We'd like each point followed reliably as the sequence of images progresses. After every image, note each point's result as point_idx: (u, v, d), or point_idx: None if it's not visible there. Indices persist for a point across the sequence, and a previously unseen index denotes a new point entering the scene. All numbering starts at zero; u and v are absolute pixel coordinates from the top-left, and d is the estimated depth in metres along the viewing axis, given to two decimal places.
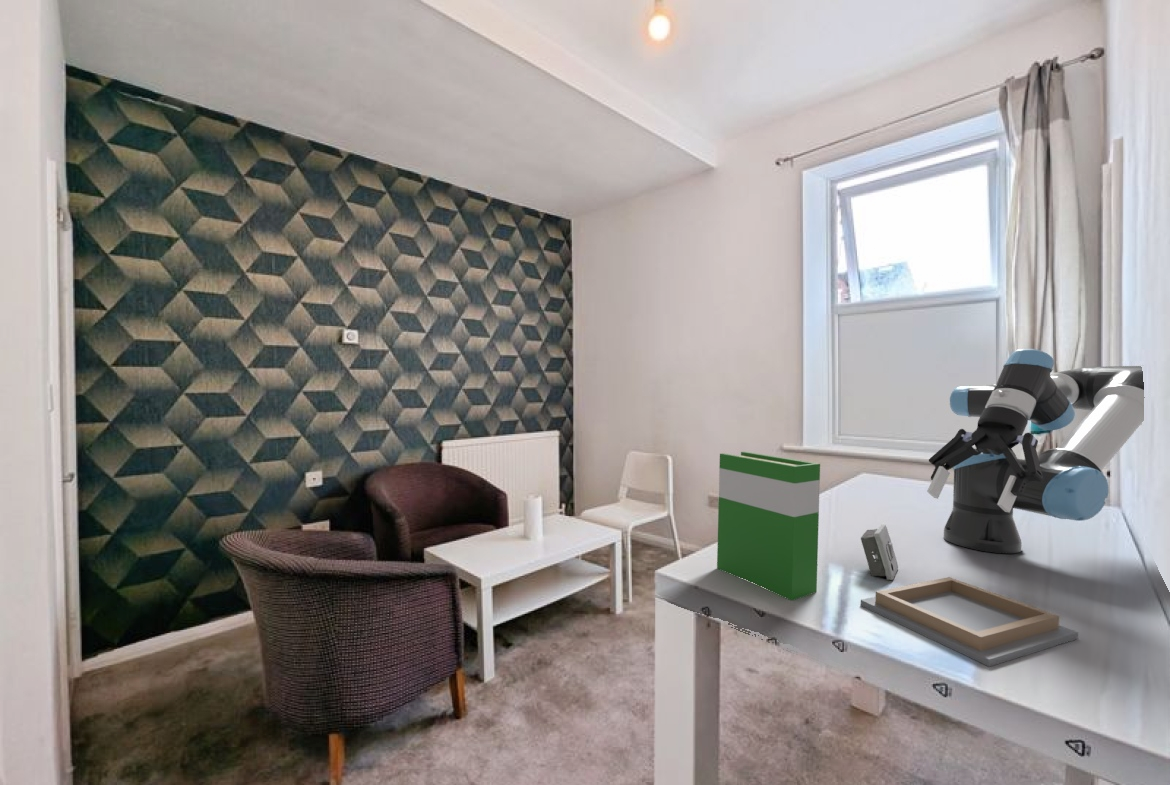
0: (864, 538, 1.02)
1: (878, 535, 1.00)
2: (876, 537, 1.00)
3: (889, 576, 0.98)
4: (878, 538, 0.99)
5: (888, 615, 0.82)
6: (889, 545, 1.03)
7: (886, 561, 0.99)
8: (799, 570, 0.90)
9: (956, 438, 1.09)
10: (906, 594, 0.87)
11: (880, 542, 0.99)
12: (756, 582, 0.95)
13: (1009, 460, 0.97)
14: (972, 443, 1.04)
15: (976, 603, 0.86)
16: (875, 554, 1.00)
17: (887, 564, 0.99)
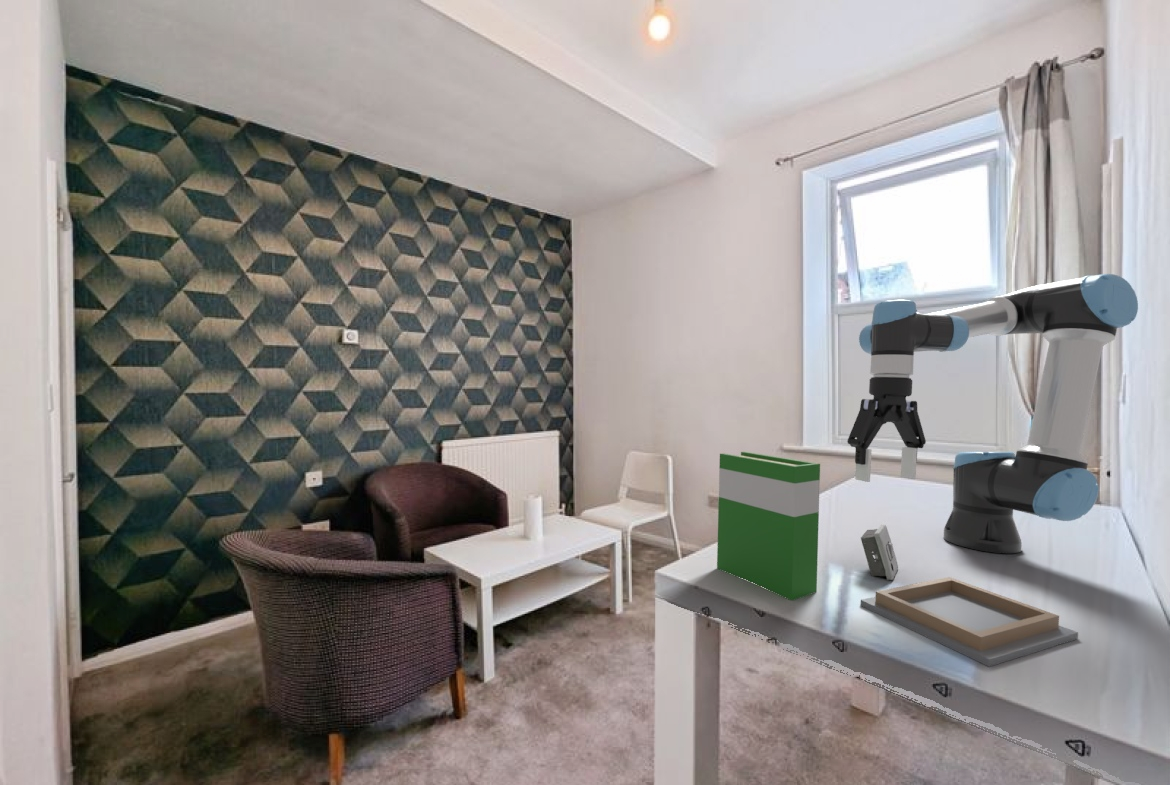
0: (864, 538, 1.02)
1: (878, 535, 1.00)
2: (876, 537, 1.00)
3: (889, 576, 0.98)
4: (878, 538, 0.99)
5: (888, 615, 0.82)
6: (889, 545, 1.03)
7: (886, 561, 0.99)
8: (799, 570, 0.90)
9: None
10: (906, 594, 0.87)
11: (880, 542, 0.99)
12: (756, 582, 0.95)
13: None
14: None
15: (976, 603, 0.86)
16: (875, 554, 1.00)
17: (887, 564, 0.99)
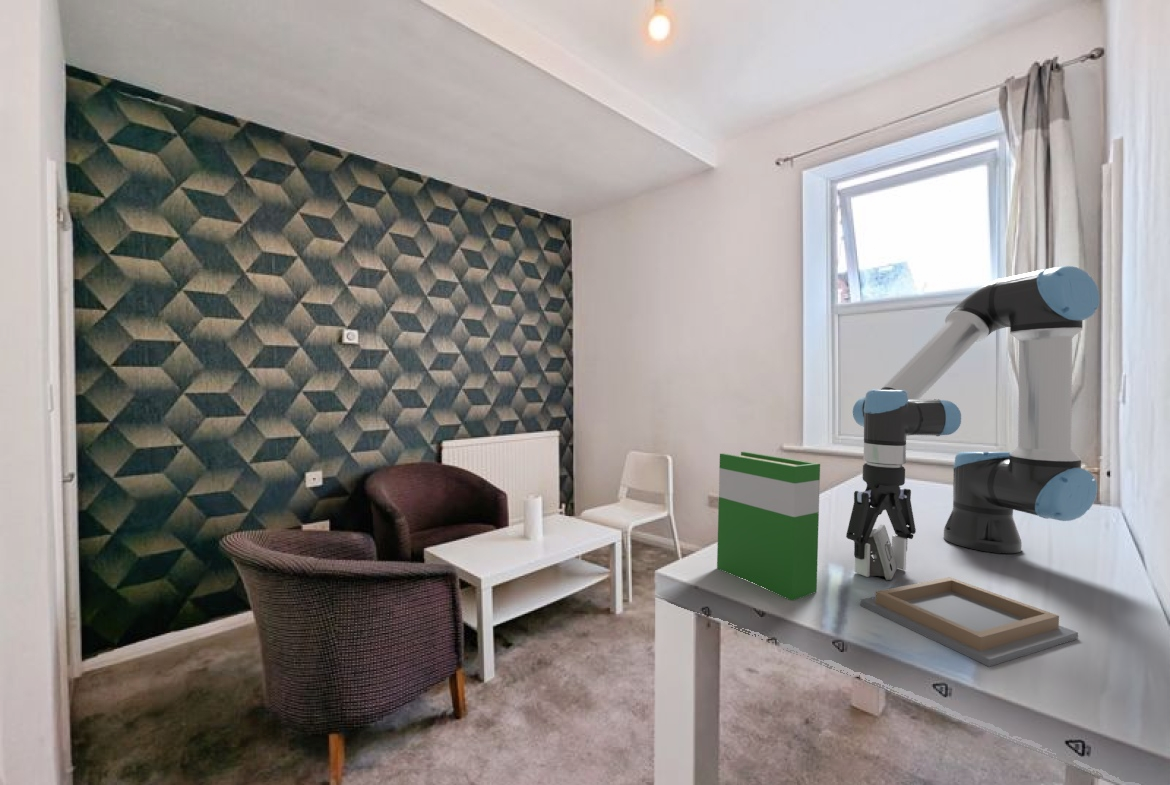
0: None
1: (877, 535, 0.99)
2: (875, 537, 1.00)
3: (888, 576, 0.98)
4: (877, 538, 0.99)
5: (888, 615, 0.82)
6: (888, 545, 1.02)
7: (885, 561, 0.99)
8: (799, 570, 0.90)
9: None
10: (906, 594, 0.87)
11: (879, 542, 0.99)
12: (756, 582, 0.95)
13: None
14: None
15: (976, 603, 0.86)
16: (874, 554, 1.00)
17: (886, 564, 0.98)
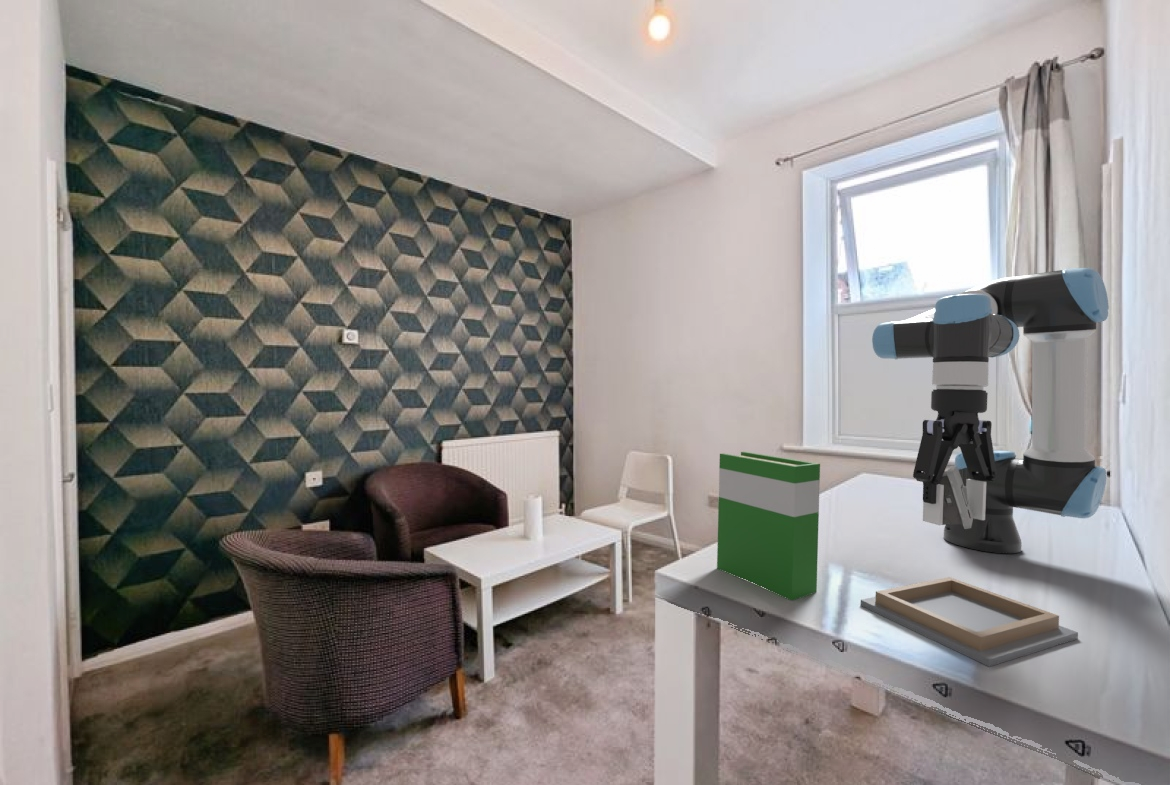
0: None
1: (952, 473, 0.80)
2: (949, 476, 0.80)
3: (967, 523, 0.79)
4: (952, 477, 0.80)
5: (888, 615, 0.82)
6: (964, 488, 0.83)
7: (963, 505, 0.79)
8: (799, 570, 0.90)
9: None
10: (906, 594, 0.87)
11: (955, 482, 0.80)
12: (756, 582, 0.95)
13: None
14: None
15: (976, 603, 0.86)
16: (947, 497, 0.81)
17: (964, 509, 0.79)
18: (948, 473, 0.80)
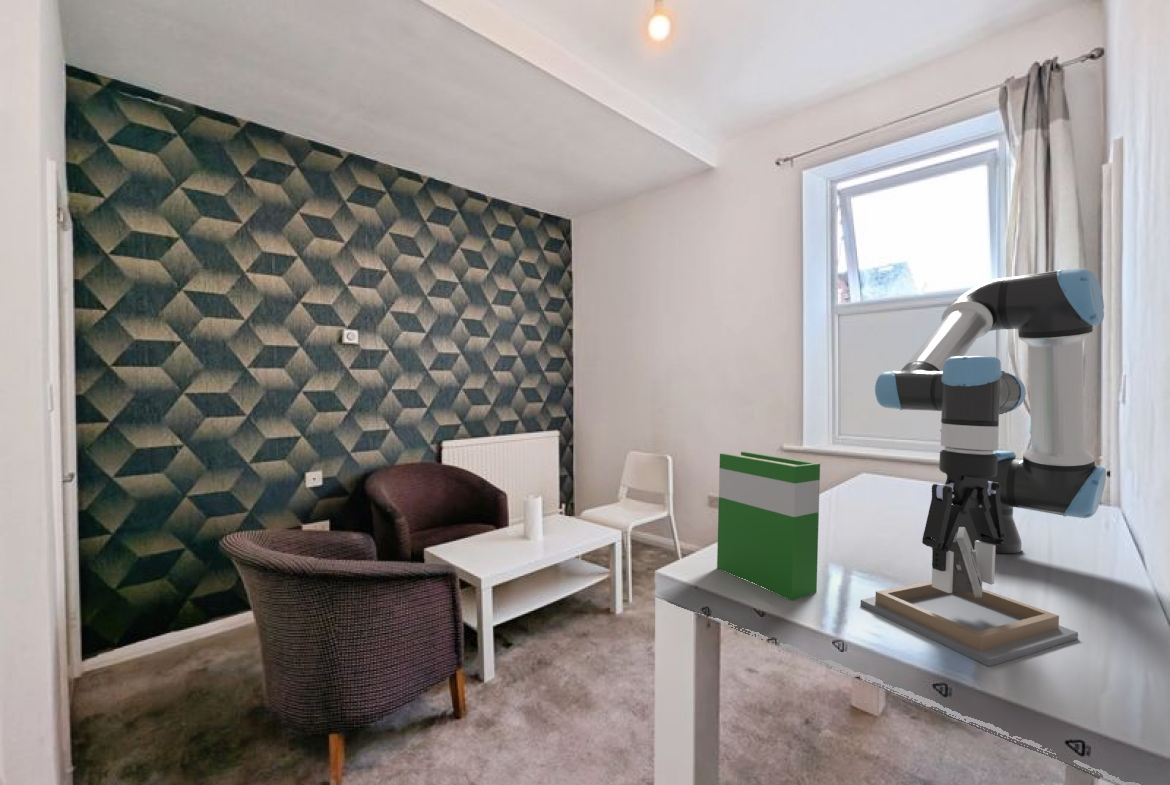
0: None
1: (962, 540, 0.78)
2: (960, 542, 0.78)
3: (977, 593, 0.77)
4: (962, 544, 0.78)
5: (888, 615, 0.82)
6: (973, 553, 0.81)
7: (973, 573, 0.77)
8: (799, 570, 0.90)
9: None
10: (906, 594, 0.87)
11: (965, 549, 0.78)
12: (756, 582, 0.95)
13: None
14: None
15: (976, 603, 0.86)
16: (957, 564, 0.79)
17: (975, 577, 0.77)
18: (958, 540, 0.79)
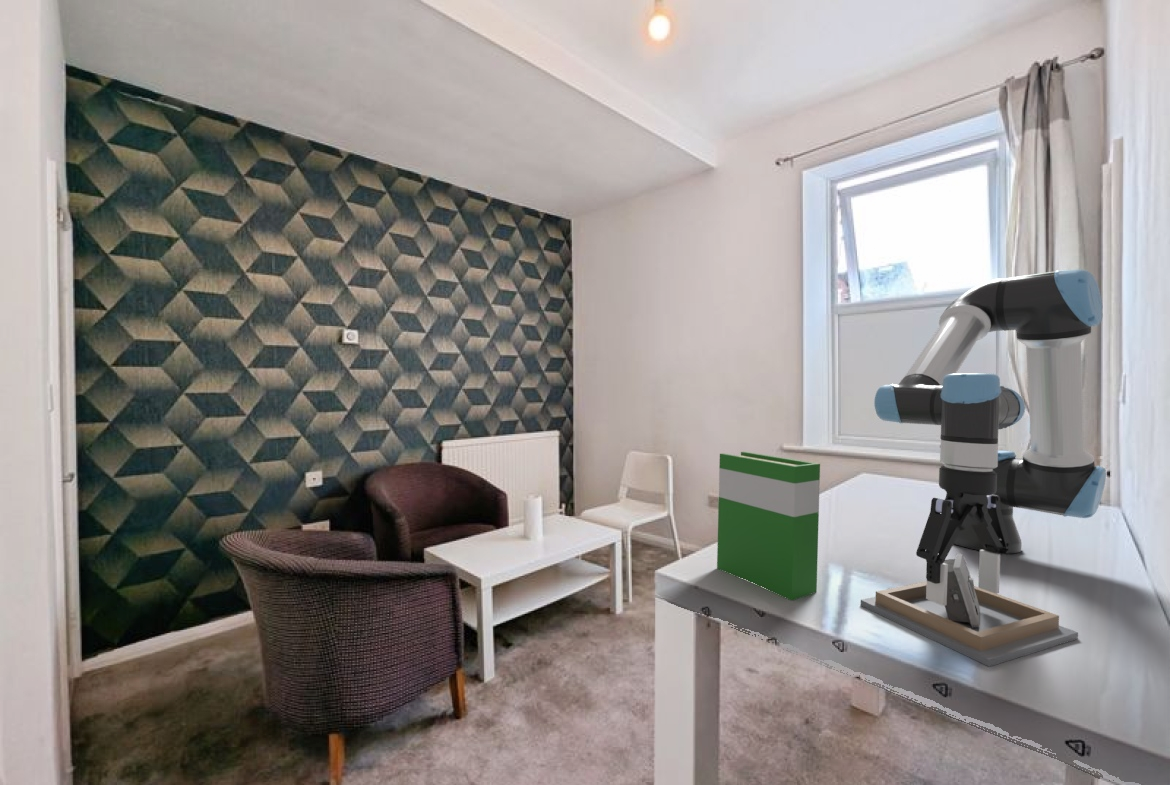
0: None
1: (959, 570, 0.78)
2: (956, 572, 0.78)
3: (974, 623, 0.77)
4: (959, 574, 0.78)
5: (888, 615, 0.82)
6: (970, 581, 0.81)
7: (970, 603, 0.77)
8: (799, 570, 0.90)
9: None
10: (906, 594, 0.87)
11: (962, 579, 0.78)
12: (756, 582, 0.95)
13: None
14: None
15: None
16: (954, 593, 0.79)
17: (972, 607, 0.77)
18: (955, 569, 0.79)
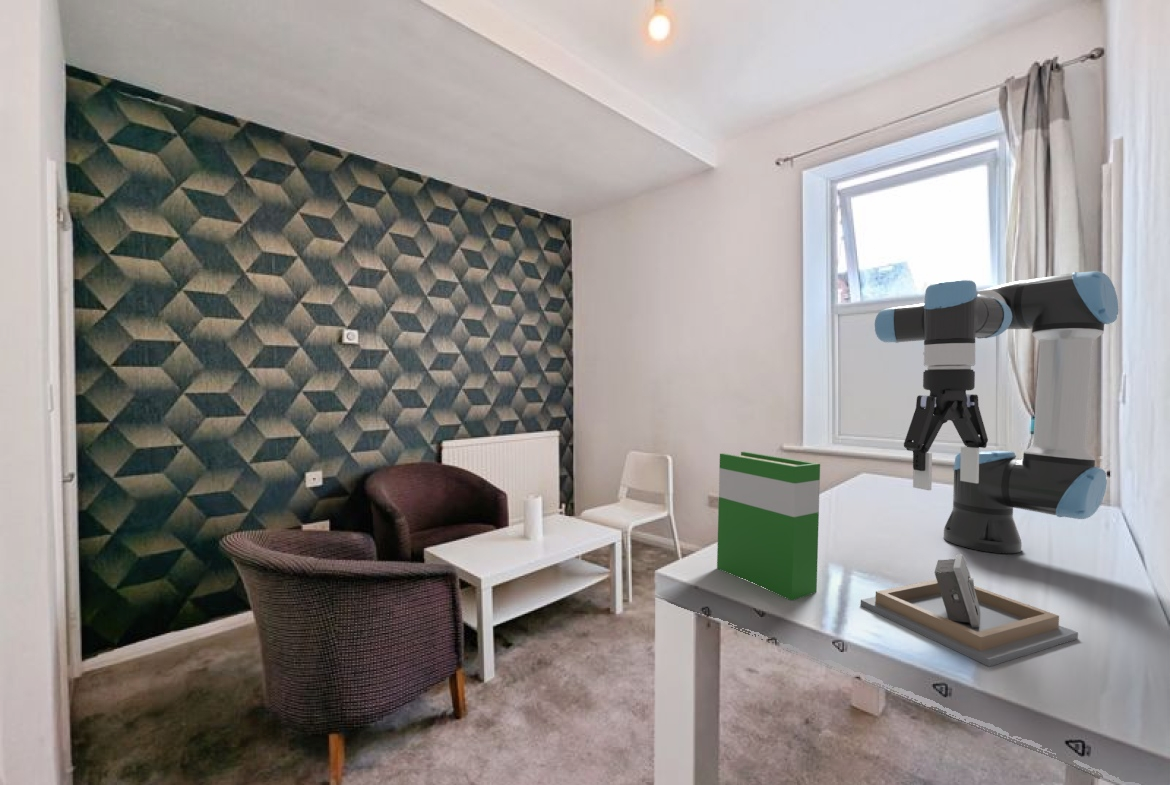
0: (939, 573, 0.80)
1: (959, 570, 0.78)
2: (956, 572, 0.78)
3: (974, 623, 0.77)
4: (959, 574, 0.78)
5: (888, 615, 0.82)
6: (970, 581, 0.81)
7: (970, 603, 0.77)
8: (799, 570, 0.90)
9: None
10: (906, 594, 0.87)
11: (962, 579, 0.78)
12: (756, 582, 0.95)
13: None
14: None
15: None
16: (954, 594, 0.79)
17: (972, 607, 0.77)
18: (955, 569, 0.79)
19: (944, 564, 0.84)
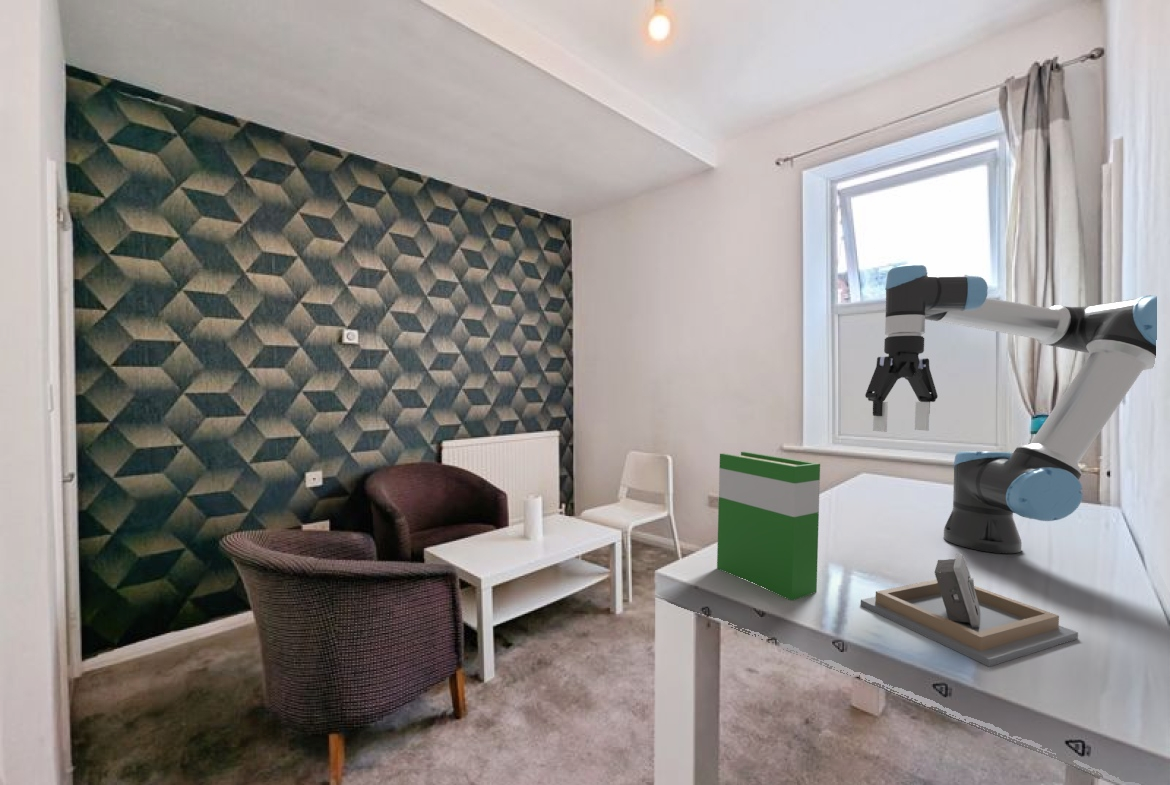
0: (939, 573, 0.80)
1: (959, 570, 0.78)
2: (957, 572, 0.78)
3: (974, 623, 0.77)
4: (959, 574, 0.78)
5: (888, 615, 0.82)
6: (970, 581, 0.81)
7: (970, 603, 0.77)
8: (799, 570, 0.90)
9: None
10: (906, 594, 0.87)
11: (962, 579, 0.78)
12: (756, 582, 0.95)
13: None
14: None
15: None
16: (954, 593, 0.79)
17: (972, 607, 0.77)
18: (955, 569, 0.79)
19: (944, 564, 0.84)
